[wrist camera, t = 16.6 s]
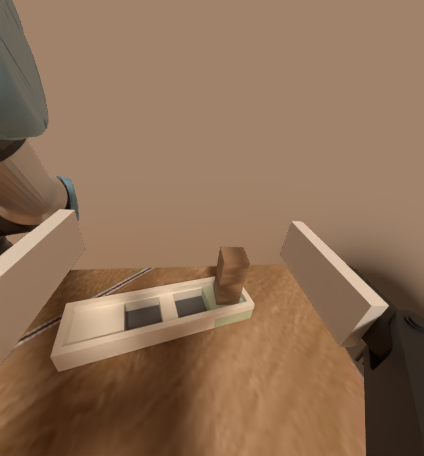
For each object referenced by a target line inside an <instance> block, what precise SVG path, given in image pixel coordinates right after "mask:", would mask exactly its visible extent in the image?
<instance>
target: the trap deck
mask: <svg viewBox="0 0 424 456" xmlns="http://www.w3.org/2000/svg"><path fill="white" fill-rule="evenodd" d="M214 282H215V276H214V277H208V278H203V279H197V280H192V281H187V282H181V283H176V284H170V285H165V286H159V287H154V288H148V289H143V290H137V291H132V292H126V293H121V294H115V295H110V296H104V297H99V298H93V299H88V300H82V301H77V302H71V303H66V305H65V309H64V312H63V316H62V319H61V322H60V326H59V329H58V332H57V336H56V339H55V343H54V346H53V349H52V353H51V356H50V358H51V360H52V361H53V363H54V365H55V367H56V369H57V370H58V372H60V371H64V370H67V369H71V368H74V367H78V366H81V365H85V364H88V363H92V362H95V361H99V360H103V359H106V358H110V357H113V356H117V355H120V354H124V353H127V352H131V351H134V350H138V349H142V348H145V347H149V346H152V345H156V344H159V343H163V342H166V341H170V340H173V339H177V338H180V337H184V336H188V335H191V334H195V333H198V332H202V331H205V330H209V329H212V328H216V327H219V326H223V325H227V324H230V323H234V322H237V321H241V320H244V319H248V318H250V317H251V314H252V311H253V308H254V305H255V304H254V303H253V301H252V299H251V298H250V296H249V295H248V293H247V292H246V290H245V289H244V287H243V290H242V293H241V297H240V301H239V303H238V304H234V305H216V300H215V294H214Z"/></svg>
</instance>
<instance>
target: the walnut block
mask: <svg viewBox="0 0 424 456" xmlns="http://www.w3.org/2000/svg"><path fill="white" fill-rule="evenodd" d="M249 264H250V263H249V260H248V258H247V255H246V253H245V251H244V248H242V247H220V252H219V258H218V264H217V270H216V276H215V282H214V294H215V300H216V305H234V304H238V303H239V301H240V297H241V293H242V290H243V286H244V282H245V279H246V275H247V271H248V268H249Z"/></svg>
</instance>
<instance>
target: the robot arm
mask: <svg viewBox="0 0 424 456" xmlns="http://www.w3.org/2000/svg"><path fill="white" fill-rule="evenodd" d="M47 125H48V111H47V104H46V99H45V95H44V91H43V88H42V84H41V80H40V76H39V73H38V70H37V66H36V63H35V60H34V57H33V54H32V52H31V50H30V47H29V45H28V42H27V40H26V38H25V36H24V33H23V28H22V25H21V21H20V19H19V16H18V14H17V11H16V9H15V6H14V4H13V2H12V0H0V366H1V364H2V363H3V362H4V360H5V359H6V357H7V356H8V355H9V353H10V352H11V351H12V349H13V348H14V346H15V345H16V344H17V342H18V341H19V340H20V338H21V337H22V335H23V334H24V333H25V331H26V330H27V329H28V327H29V326H30V324H31V323H32V322H33V320H34V319H35V318H36V316H37V315H38V313H39V312H40V311H41V309H42V308H43V307H44V305H45V304H46V302H47V301H48V300H49V298H50V297H51V296H52V294H53V293H54V291H55V290H56V289H57V287H58V286H59V285H60V283H61V282H62V280H63V279H64V278H65V276H66V275H67V274H68V272H69V271H70V269H71V268H72V267H73V265H74V264H75V263H76V261H77V260H78V258H79V257H80V256H81V254H82V253H83V252H84V250H85V248H84V244H83V240H82V236H81V232H80V228H79V224H78V220H79V213H78V204H77V198H76V194H75V190H74V187H73V184H72V182H71V180H70V179H69V178H67V177H59V176H57V177H55V176H54V175H52V174H51V173H49V172H47V171H46V170H45V169H44V167H43V165H42V164H41V162H40V160H39V158H38V156H37V155H36V153H35V151H34V150H33V148H32V146H31V144H30V142H29V141H28V138H29V137H36V136H39V135H42V133H43V132H44V131H45V129H46V128H47ZM26 232H30V233H29V234H27V235H26V236H25V237H24V238H22V239H21V240H20V241H18V242H17V243H16V244H15V245H13V244H12V243H10V242H9V241H8V240H7V239H6V237H5V236H7V235H12V234H19V233H26ZM280 256H281V257H282V259H283V260H284V262H285V263H286V265H287V266H288V268H289V269H290V271H291V273H292V274H293V276H294V277H295V279H296V280H297V282H298V283H299V285H300V286H301V288H302V290H303V291H304V293H305V294H306V296H307V297H308V299H309V300H310V302H311V303H312V305H313V307H314V308H315V310H316V311H317V313H318V314H319V316H320V317H321V319H322V320H323V322H324V324H325V325H326V327H327V328H328V330H329V331H330V333H331V334H332V336H333V337H334V339H335V341H336V342H337V344H338V345H339V347H349V346H355V345H356V344H357V343H358V342H359V341H360V339H361V338H362V339H363V340H364V341H365V343H366V344H367V345H366V346H365V347H364V348H363V349H362V351H361V352H360V353H359V354H358V355H357V356H356V359H355V360H356V361H359V360H360V359H361V358H362V357H364V362H363V363H362V364H363V365H364V391H365V428H366V456H424V318H422V317H421V316H419V315H417V314H415V313H413V312H410V311H407V310H398V309H397V308H396V307H395V306H394V305H393V304H392V303H391V302H390V301H389V300H388V299H387V298H386V297H385V296H383V295H382V294H381V293H380V292H379V291H378V290H377V289H376V288H375V287H374V286H372V285H371V283H370V282H369V281H368V280H366V279H364V277H363V276H362V275H361V274H360V273H359V272H358V271H357V270H356V269H353V268H352V267H351V266H349V265H348V264H346V263H344V262H343V261H342V260H341V259H340V258H339V257H338V256H337V255H336V254H335V253H334V252H333V251H332V250H331V249H330V248H329V247H328V246H327V245H326V244H325V243H324V242H323V241H322V240H320V239H319V238H318V237H317V236H316V235H315V234H314V233H313V232H312V231H311V230H310V229H309V228H308V227H307V226H306V225H305V224H304V223H303V222H297V221H291V224H290V227H289V229H288V232H287V235H286V238H285V241H284V244H283V246H282V249H281V252H280Z"/></svg>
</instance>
